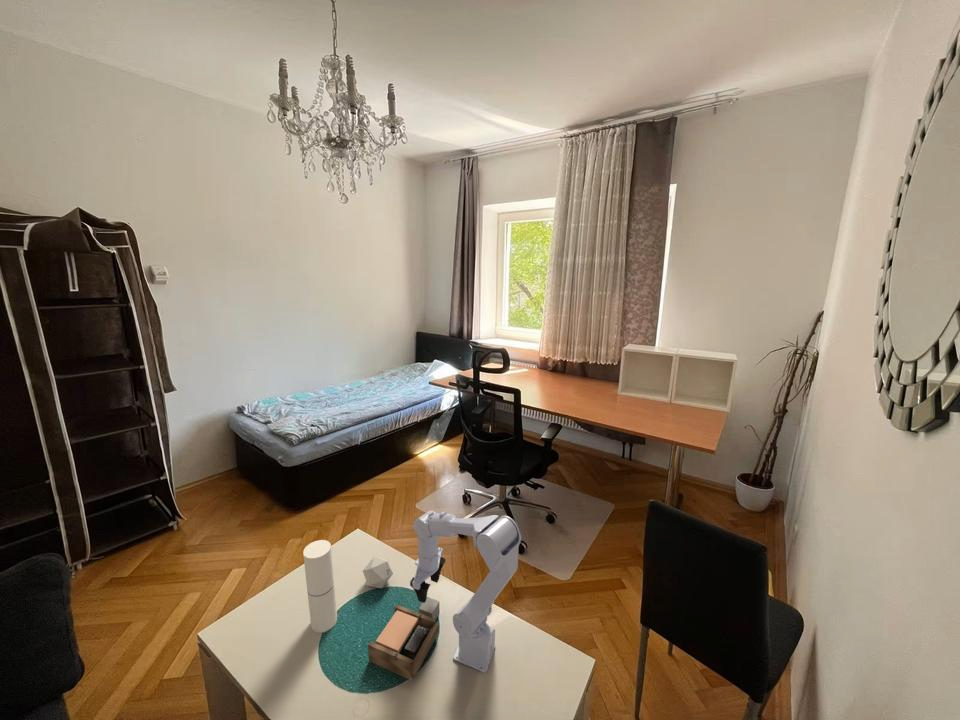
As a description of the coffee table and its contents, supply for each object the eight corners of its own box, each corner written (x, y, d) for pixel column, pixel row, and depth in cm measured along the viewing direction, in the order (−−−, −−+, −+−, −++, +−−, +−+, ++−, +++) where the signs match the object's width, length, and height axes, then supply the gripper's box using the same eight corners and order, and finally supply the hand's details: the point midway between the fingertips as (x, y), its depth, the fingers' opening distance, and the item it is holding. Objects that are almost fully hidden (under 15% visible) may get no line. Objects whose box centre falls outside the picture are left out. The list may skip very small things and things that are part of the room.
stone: (439, 613, 114) (439, 601, 113) (432, 626, 109) (432, 613, 108) (426, 608, 115) (426, 596, 114) (419, 620, 111) (418, 608, 110)
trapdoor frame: (439, 635, 106) (438, 619, 105) (414, 682, 94) (413, 664, 93) (397, 619, 111) (396, 603, 110) (368, 661, 99) (367, 644, 98)
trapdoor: (430, 630, 105) (430, 623, 104) (411, 664, 96) (411, 656, 95) (397, 617, 109) (397, 610, 108) (376, 648, 100) (375, 640, 99)
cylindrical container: (305, 629, 108) (297, 555, 102) (321, 608, 114) (314, 538, 109) (327, 635, 106) (320, 560, 100) (342, 613, 113) (336, 542, 107)
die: (368, 599, 119) (386, 577, 117) (352, 576, 122) (370, 554, 121) (384, 589, 126) (402, 568, 125) (369, 567, 130) (386, 546, 129)
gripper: (428, 531, 115) (428, 568, 118) (402, 565, 102) (403, 605, 105) (449, 538, 112) (448, 575, 116) (425, 573, 99) (425, 614, 102)
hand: (428, 590), depth 110 cm, fingers open, 7 cm apart
